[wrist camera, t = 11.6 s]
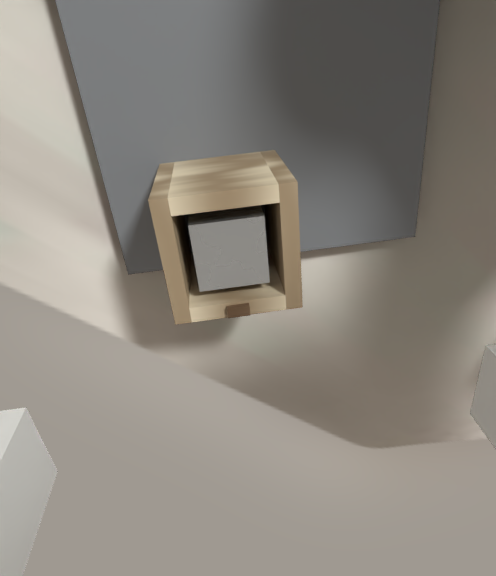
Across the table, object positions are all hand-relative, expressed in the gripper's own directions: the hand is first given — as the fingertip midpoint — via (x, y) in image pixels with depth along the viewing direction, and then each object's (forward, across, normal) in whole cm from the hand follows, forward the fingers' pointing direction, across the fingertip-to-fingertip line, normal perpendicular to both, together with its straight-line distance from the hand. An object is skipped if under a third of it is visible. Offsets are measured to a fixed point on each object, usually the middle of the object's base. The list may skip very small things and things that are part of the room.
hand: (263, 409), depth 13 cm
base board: (+19, -3, -6) cm, 20 cm away
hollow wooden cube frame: (+18, 0, 0) cm, 18 cm away
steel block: (+19, 0, 0) cm, 19 cm away
